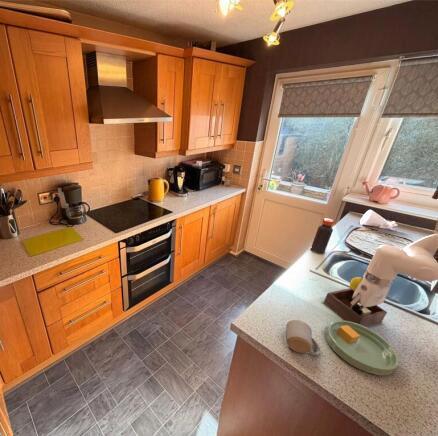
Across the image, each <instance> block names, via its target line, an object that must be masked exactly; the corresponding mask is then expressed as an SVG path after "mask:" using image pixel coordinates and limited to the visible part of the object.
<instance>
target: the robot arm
mask: <svg viewBox="0 0 438 436" xmlns="http://www.w3.org/2000/svg"><path fill="white" fill-rule="evenodd" d="M437 247H438V233H434V234H430V235H427V236H425V237H422V238H420V239H418V240H415V241H413V242H412V243H410V244H408V245H406V246H404V247H403V248H400V247H397V246H393V245H390V244H382V245H380V246H378V247H377V248H376V250H375V251H374V254H373V256H372V257H371V259H370V262H369V263H368V266H367V267H366V270H365V271H364V273H363V276H362V278H363V280H362V281H361V282H360V284H359V285H358V287H357V289H356V290H355V292H354V294H353V297H352V298H353V299H354V300H353V301H352V302H351V304H352V305H353V307H352V310H353V311H355V312H356V313H357V314H359V315H361V314H362V312H363V310H362V309H363V308H364V307H366V308H367V309H368V310H371V308H373V306H374V305H377V306H379V305H381V304H383V303H384V302H385V300H386V298H387V296H388V294H389V292H390V289H391V287H392V285H393V283H394V282H395V280H396V278H397V276H398V275H399V273H400V274H402V275H404V276H407V277H410V278H412V279H415V280H417V281H418V280H419V281H421V282H434V281H438V261H437V260H436V259H435V258H434V257H433V255H434V254H435V252H436V249H437ZM357 303H360V304H361V306H360V305H358V304H357Z"/></svg>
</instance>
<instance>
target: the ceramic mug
mask: <svg viewBox="0 0 438 436" xmlns="http://www.w3.org/2000/svg"><path fill="white" fill-rule="evenodd" d="M285 328H286V330H285V331H286V332H285V333H286V334H285V335H286V338H285V339H286V344H287V346H288V348H290V349H291V350H293V352H296V353H300V354H307V353H308V354H310V355H312V356H318V355H320V353H321V347H320V345H319V343H318V342H317V340H315V339H314V338H313V331H312V330H313V329H312V328H311V327H310V325H309V324H308V323H306V322H304V321H302V320H299V319H291V320H289V321H288V322H287V323H286V327H285ZM312 346H314V348H315V351H313V350H312Z"/></svg>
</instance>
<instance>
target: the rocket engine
mask: <svg viewBox="0 0 438 436" xmlns="http://www.w3.org/2000/svg"><path fill="white" fill-rule="evenodd" d="M359 224H360V225H363V226H370V227H377V228H380V229H387V230H391V231H394V232H395V231H396V228H395V227H398V225H399V224H397V223H396V221H395V220H393V221H387V220H386V218H384V217H382V216H381V215H380V214H378V213H377V212H375V211H374V210H372V209H368V210H367V211H366V212H364V214H363V215H362V217H361V218H360V221H359Z"/></svg>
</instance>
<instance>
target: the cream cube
mask: <svg viewBox="0 0 438 436" xmlns="http://www.w3.org/2000/svg"><path fill="white" fill-rule="evenodd" d="M357 304H358V305H360V306H361V304H360V303H357ZM352 307H353V305H352V306H351V309H352ZM362 310H363V312H362V314H361V315H360V316H361V317H362V316H366V315H370V313H371V311H370V310H368V309H367V308H366V307H364V308H363V309H362Z"/></svg>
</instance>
